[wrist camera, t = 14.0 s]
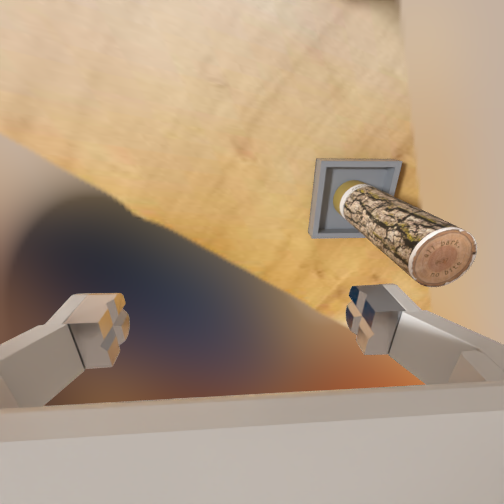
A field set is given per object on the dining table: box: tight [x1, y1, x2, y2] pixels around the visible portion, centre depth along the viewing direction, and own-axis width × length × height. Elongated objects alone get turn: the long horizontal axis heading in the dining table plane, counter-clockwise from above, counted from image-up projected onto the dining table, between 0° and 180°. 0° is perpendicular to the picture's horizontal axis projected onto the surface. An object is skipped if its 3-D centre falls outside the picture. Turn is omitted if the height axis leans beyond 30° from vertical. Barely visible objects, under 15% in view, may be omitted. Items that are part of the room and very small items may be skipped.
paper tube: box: [333, 180, 477, 287], centre depth 39 cm, size 7×7×25 cm
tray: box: [308, 159, 402, 238], centre depth 49 cm, size 14×14×3 cm
